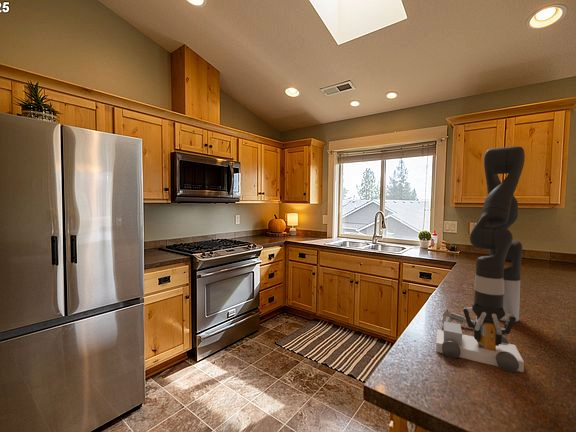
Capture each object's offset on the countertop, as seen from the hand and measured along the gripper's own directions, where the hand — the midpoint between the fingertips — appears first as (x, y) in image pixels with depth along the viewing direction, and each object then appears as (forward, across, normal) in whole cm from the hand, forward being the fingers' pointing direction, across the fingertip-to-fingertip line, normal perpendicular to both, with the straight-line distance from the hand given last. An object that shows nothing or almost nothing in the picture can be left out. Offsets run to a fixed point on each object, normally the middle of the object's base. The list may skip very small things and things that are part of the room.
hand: (487, 342), depth 86 cm
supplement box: (+4, 0, 0) cm, 4 cm away
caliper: (+5, +2, -21) cm, 21 cm away
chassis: (+4, +3, 0) cm, 5 cm away
